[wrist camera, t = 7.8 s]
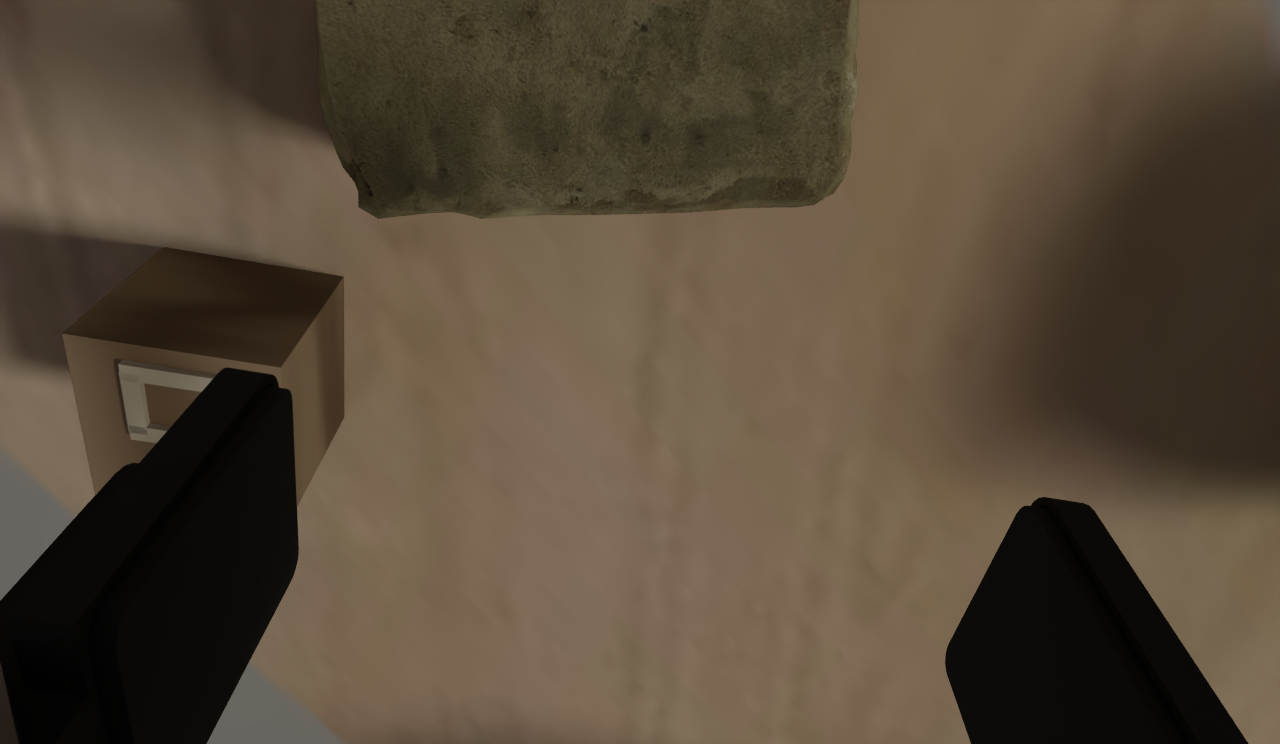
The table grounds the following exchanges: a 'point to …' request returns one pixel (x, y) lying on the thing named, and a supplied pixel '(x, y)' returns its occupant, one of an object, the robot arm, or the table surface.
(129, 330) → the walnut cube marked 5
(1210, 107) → the table surface
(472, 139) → the stone block
